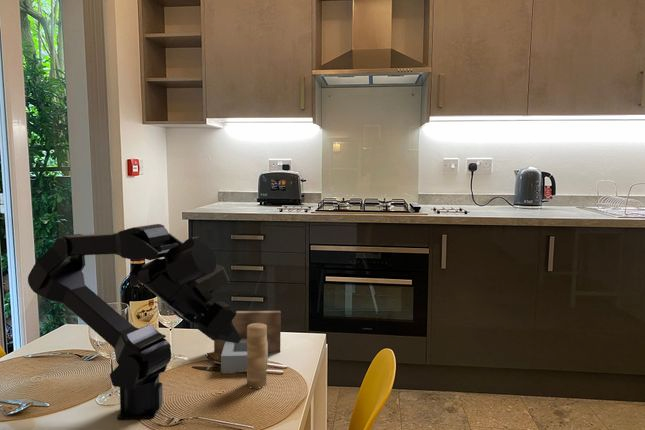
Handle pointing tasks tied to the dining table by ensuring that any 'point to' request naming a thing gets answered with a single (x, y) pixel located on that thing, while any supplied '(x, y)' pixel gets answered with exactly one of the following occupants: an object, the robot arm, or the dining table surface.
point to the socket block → (235, 357)
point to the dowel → (256, 355)
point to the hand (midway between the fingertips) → (227, 333)
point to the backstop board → (250, 317)
